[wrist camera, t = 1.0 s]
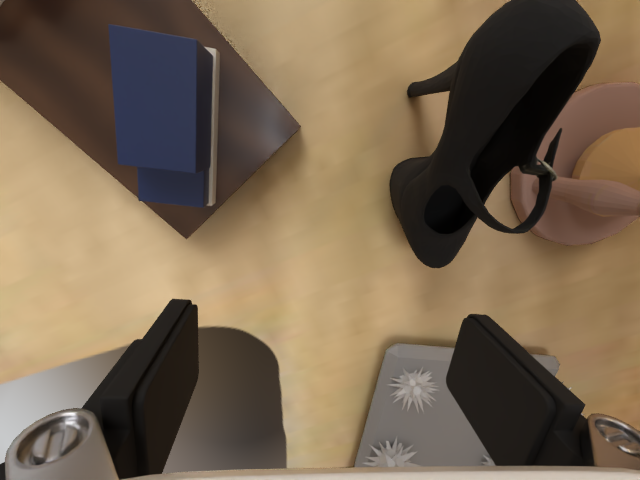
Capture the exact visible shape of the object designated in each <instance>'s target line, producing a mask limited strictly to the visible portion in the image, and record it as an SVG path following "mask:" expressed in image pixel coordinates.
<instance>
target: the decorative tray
mask: <svg viewBox="0 0 640 480" xmlns="http://www.w3.org/2000/svg"><path fill="white" fill-rule="evenodd" d="M454 349H455V348H452V347H440V346H428V345H416V344H404V343H396V344H393V345H392V346H390V347H389V348H388V349H386V352H385V355H384V359H383V362H382V366H381V370H380V373H379V377H378V381H377V384H376V388H375V391H374V395H373V399H372V402H371V406H370V410H369V413H368V417H367V420H366V424H365V428H364V431H363V435H362V439H361V442H360V446H359V449H358V453H357V457H356V460H355V464H354V467H432V466H496V465H495V464H494V462H493V460H492V459H491V457H490V455H489V454H488V452H487V451H486V449H485V447H484V446H483V444H482V443H481V441H480V439H479V438H478V436H477V434H476V433H475V431H474V430H473V428H472V426H471V425H470V423H469V422H468V420H467V418H466V417H465V415H464V413H463V412H462V410H461V409H460V407H459V405H458V404H457V402H456V401H455V399H454V397H453V396H452V394H451V392H450V391H449V389H448V387H447V384H446V376H447V372H448V369H449V366H450V362H451V359H452V355H453V352H454ZM531 355H532V356H533V357H534V358H535V359H536V360H537V361H538V362H539V363H540V364H541V365H543V366H544V367H545V368H546V369H547V370H548V371H549V372H550V373H551V374H552V375H553V376H555V375H556V373H557V371H558V369H559V366H560V364H559V362H558V360H557V358H556V357H555V356H549V355H537V354H531ZM558 380H559V379H558ZM563 382H564V381H563ZM563 382H562V383H563ZM571 388H572V387H571ZM571 388H568V389H571ZM581 415H585V414H581Z"/></svg>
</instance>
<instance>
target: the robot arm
mask: <svg viewBox="0 0 640 480" xmlns="http://www.w3.org/2000/svg"><path fill="white" fill-rule="evenodd" d="M198 363H199V361H198V308H197V305H193V304H192V302H191V300H183V299H172V300H171V301H170V302H169V303H168V305H167V306H166V307H165V309H164V310H163V312H162V313H161V314H160V316H159V317H158V318H157V320H156V321H155V322H154V324H153V325H152V327H151V328H150V329H149V331H148V332H147V333H146V335H145V336H144V337H143V339H137V340H135V341H134V342H133V343H132V344H131V345H130V346H129V347H128V349H127V350H126V351H125V353H124V354H123V355H122V356H121V358H120V359H119V360H118V362H117V363H116V364H115V366H114V367H113V368H112V370H111V371H110V372H109V373H108V375H107V376H106V377H105V379H104V380H103V381H102V382H101V384H100V385H99V386H98V388H97V389H96V390H95V392H94V393H93V394H92V395H91V397H90V398H89V399H88V401H87V402H86V403H85V405H84V406H83V407H82V408H81V409H79V408H73V409H66V410H61V411H58V412H55V413H52V414H50V415H48V416H46V417H44V418H42V419H40V420H38V421H36V422H34V423H33V424H32V425H30V426H29V427H27V428H26V429H24V430H23V431H22V432H21V433H20V434H19V435H18V436H17V437H16V438H15V439H14V440H13V442H12V443H11V445H10V447H9V448H8V450H7V453H6V457H5V462H4V463H2V464H0V480H640V431H638V430H637V429H635V428H634V427H632V426H630V425H629V424H627V423H625V422H623V421H621V420H619V419H617V418H614V417H611V416H608V415H604V414H599V413H598V414H591V415H590V416H588V418H587V419H586V418H585V417H584V416H582V415H581V413H582V411H583V409H584V407H585V404H584V403H583V402H582V401H581V400H580V399H579V398H578V397H576V396H575V395H574V394H573V393H572V392H571V391H570V390H569V389H568V388H567V387H565V386H564V385H563V384H562V383H561V382H560V381H559V380H558V379H557V378H556V377H555V376H553V375H552V374H551V373H550V372H549V371H548V370H547V369H546V368H545V367H544V366H543V365H541V364H540V363H539V362H538V361H537V360H536V359H535V358H534V357H533V356H532V355H531V354H529V353H528V352H527V351H526V350H525V349H524V348H523V347H522V346H521V345H520V344H519V343H517V342H516V341H515V340H514V339H513V338H512V337H511V336H510V335H509V334H508V333H507V332H505V331H504V330H503V329H502V328H501V327H500V326H499V325H498V324H497V323H496V322H494V321H493V320H492V319H491V318H490V317H489V316H487V315H479V314H470V315H468V316H467V318H464V320H463V322H462V325H461V328H460V332H459V335H458V338H457V342H456V345H455V349H454V352H453V355H452V359H451V362H450V366H449V369H448V372H447V376H446V384H447V387H448V389H449V391H450V392H451V394H452V396H453V397H454V399H455V401H456V402H457V404H458V405H459V407H460V409H461V410H462V412H463V413H464V415H465V417H466V418H467V420H468V422H469V423H470V425H471V426H472V428H473V430H474V431H475V433H476V434H477V436H478V438H479V439H480V441H481V443H482V444H483V446H484V447H485V449H486V451H487V452H488V454H489V455H490V457H491V459H492V460H493V462H494V464H495V465H496V466H432V467H351V468H297V469H248V470H221V471H194V472H179V473H166V474H162V472H163V469H164V466H165V464H166V461H167V459H168V456H169V454H170V451H171V448H172V446H173V443H174V441H175V438H176V435H177V433H178V430H179V428H180V425H181V422H182V420H183V417H184V414H185V411H186V409H187V407H188V404H189V401H190V399H191V396H192V393H193V391H194V388H195V386H196V383H197V379H198V373H199V364H198Z"/></svg>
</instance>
